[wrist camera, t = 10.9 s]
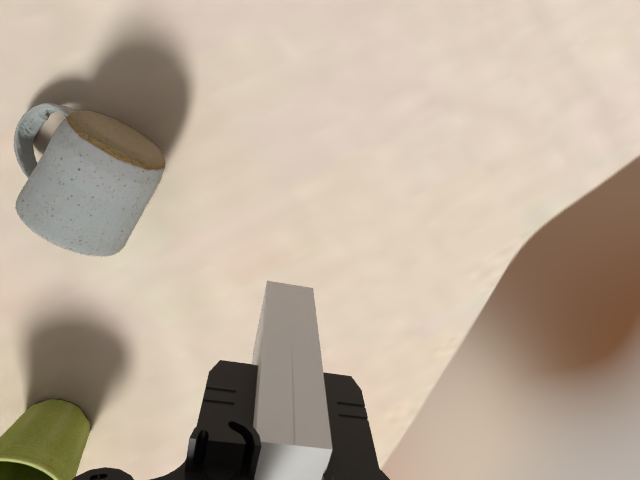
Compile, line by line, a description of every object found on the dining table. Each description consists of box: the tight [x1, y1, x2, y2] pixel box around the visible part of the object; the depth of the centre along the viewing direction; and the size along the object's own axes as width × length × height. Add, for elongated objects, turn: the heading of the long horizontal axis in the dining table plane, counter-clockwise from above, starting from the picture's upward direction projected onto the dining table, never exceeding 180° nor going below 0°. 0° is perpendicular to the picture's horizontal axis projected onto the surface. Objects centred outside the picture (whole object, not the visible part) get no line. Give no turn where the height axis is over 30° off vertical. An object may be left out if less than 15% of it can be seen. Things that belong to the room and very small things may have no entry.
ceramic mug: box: [14, 103, 165, 256], centre depth 33 cm, size 11×8×8 cm
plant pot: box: [0, 399, 90, 480], centre depth 41 cm, size 9×9×9 cm
